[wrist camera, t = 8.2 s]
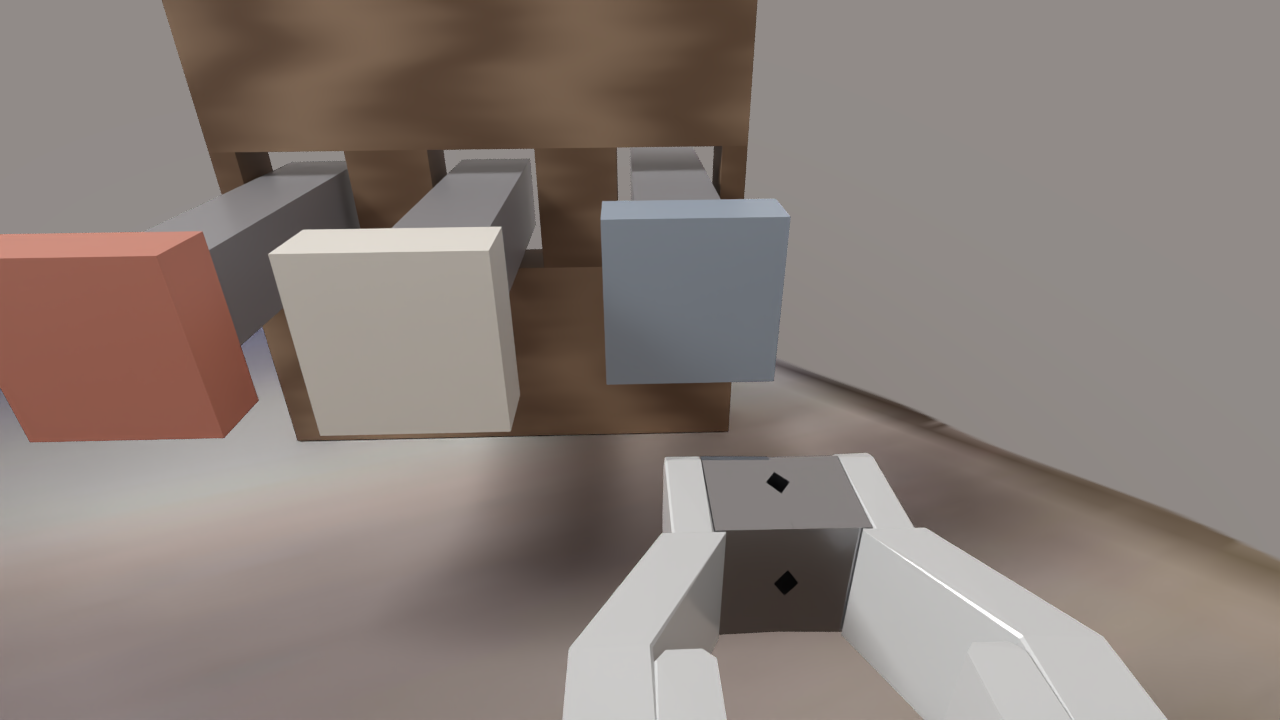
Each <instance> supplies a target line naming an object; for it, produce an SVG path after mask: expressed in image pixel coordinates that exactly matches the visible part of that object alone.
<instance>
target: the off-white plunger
mask: <svg viewBox="0 0 1280 720" xmlns="http://www.w3.org/2000/svg"><path fill="white" fill-rule="evenodd" d="M535 225H536V222H535V211H534V199H533V187H532V175H531V163H530V159H472V160H462V161H461V162H460V163H458V165H456V167H454V168H453V169H452V170H451V171H450V172H449V173H448V174H447V175H446V176H445V177H444V178H443V179H442V180H441V181H440V182H439V183H438V184H437V185H436V186H435V187H434V188H433V189H431V190H430V191H429V192H428V193H427V194H426V195H425V196H424V197H423V198H422V199H421V200H420V201H419V202H418V203H417V204H416V205H415V206H414V207H413V208H412V209H411V210H410V211H409V212H408V213H407V214H406V215H404V216H403V217H402V218H401V219H400V220H399V221H398V222H397V223H396V224H395V225H394V226H393V227H392V228H380V229H315V230H302V231H300V232H299V233H298V234H296V235H295V236H293V237H292V238H290V239H289V240H287V241H286V242H285V243H283V244H282V245H280V246H279V247H277V248H276V249H275V250H273V251H272V252H270V253H269V254H268V256H269V260H270V263H271V267H272V270H273V273H274V277H275V280H276V284H277V287H278V291H279V294H280V298H281V301H282V305H283V308H284V312H285V315H286V319H287V322H288V326H289V329H290V333H291V336H292V339H293V343H294V346H295V350H296V353H297V357H298V360H299V364H300V367H301V371H302V374H303V378H304V381H305V385H306V388H307V392H308V395H309V399H310V402H311V405H312V409H313V412H314V416H315V419H316V423H317V426H318V430H319V433H320V436H337V435H382V434H427V433H472V432H511V429H512V425H513V421H514V417H515V413H516V409H517V405H518V401H519V397H520V389H519V380H518V371H517V362H516V353H515V344H514V335H513V325H512V316H511V307H510V298H509V292H510V290H511V287H512V285H513V282H514V279H515V277H516V274H517V272H518V269H519V266H520V264H521V261H522V259H523V256H524V254H525V251H526V248H527V246H528V243H529V241H530V238H531V235H532V233H533V230H534V228H535Z"/></svg>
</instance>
